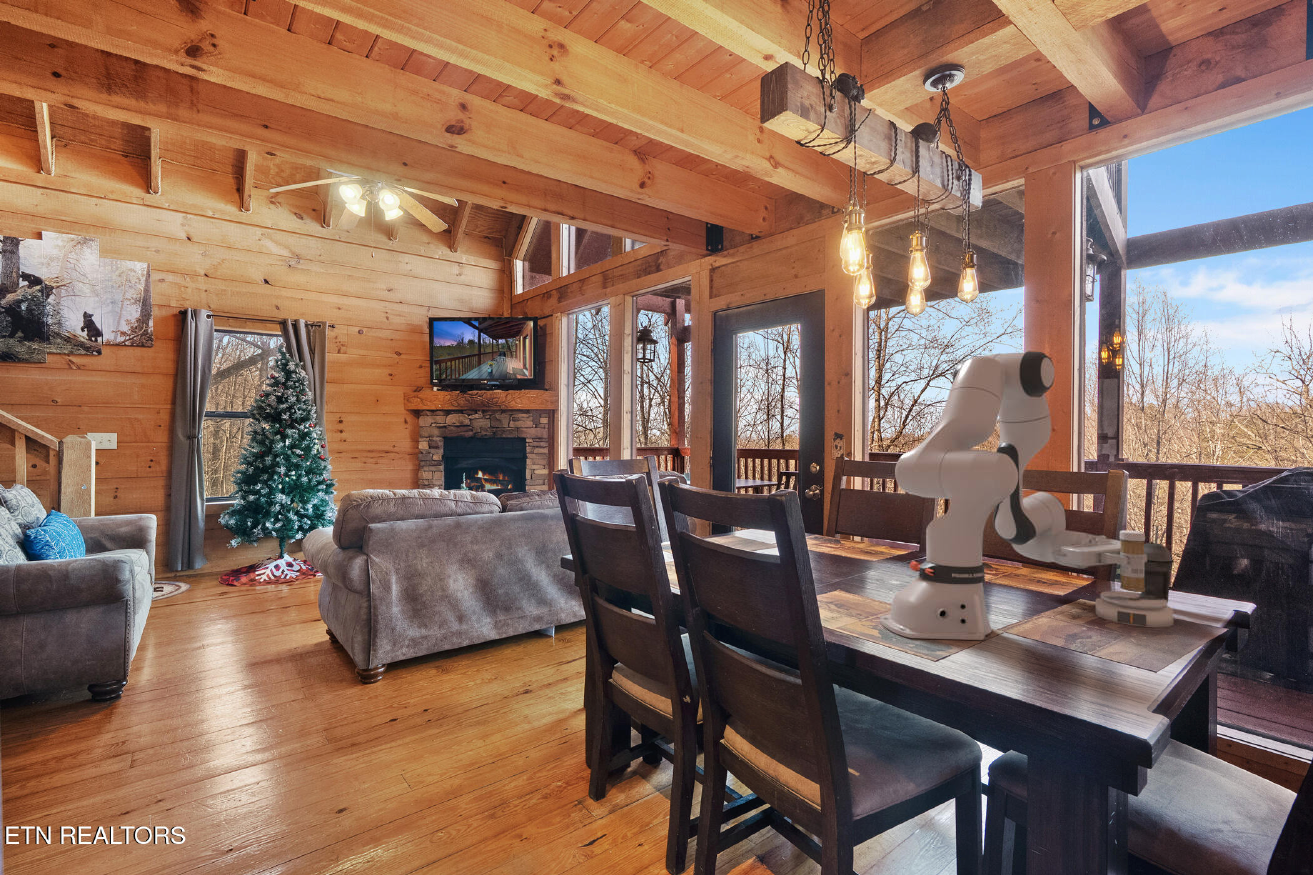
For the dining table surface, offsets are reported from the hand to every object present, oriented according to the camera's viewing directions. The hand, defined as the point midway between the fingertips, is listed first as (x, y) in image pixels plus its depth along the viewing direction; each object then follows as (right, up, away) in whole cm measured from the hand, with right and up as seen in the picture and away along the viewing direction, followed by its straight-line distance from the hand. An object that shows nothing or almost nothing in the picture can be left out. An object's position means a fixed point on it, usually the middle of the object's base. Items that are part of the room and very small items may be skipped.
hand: (1136, 559), depth 139 cm
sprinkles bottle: (0, -7, +1) cm, 7 cm away
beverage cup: (+12, -14, +10) cm, 21 cm away
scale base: (0, -14, +1) cm, 14 cm away
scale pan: (0, -10, +1) cm, 10 cm away
